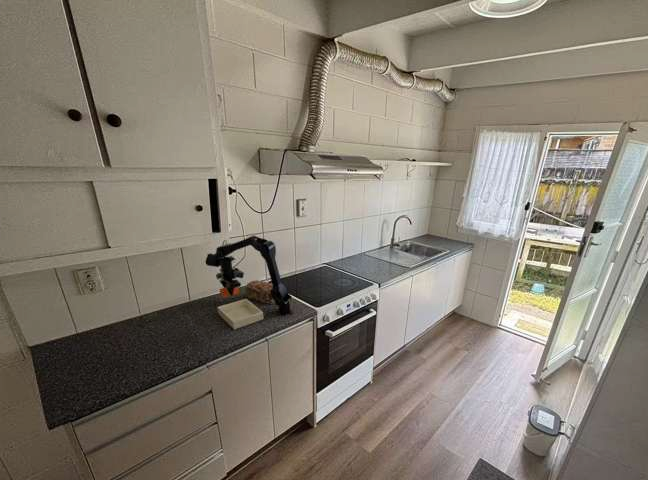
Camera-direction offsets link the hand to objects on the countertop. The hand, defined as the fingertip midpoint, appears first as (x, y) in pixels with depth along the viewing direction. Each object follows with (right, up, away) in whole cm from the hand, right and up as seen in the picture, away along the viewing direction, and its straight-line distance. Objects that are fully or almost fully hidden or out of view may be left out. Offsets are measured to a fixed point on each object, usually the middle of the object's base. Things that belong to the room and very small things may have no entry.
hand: (230, 293), depth 166 cm
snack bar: (0, 0, 0) cm, 0 cm away
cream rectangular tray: (+10, -12, -10) cm, 18 cm away
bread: (+16, -3, +11) cm, 20 cm away
